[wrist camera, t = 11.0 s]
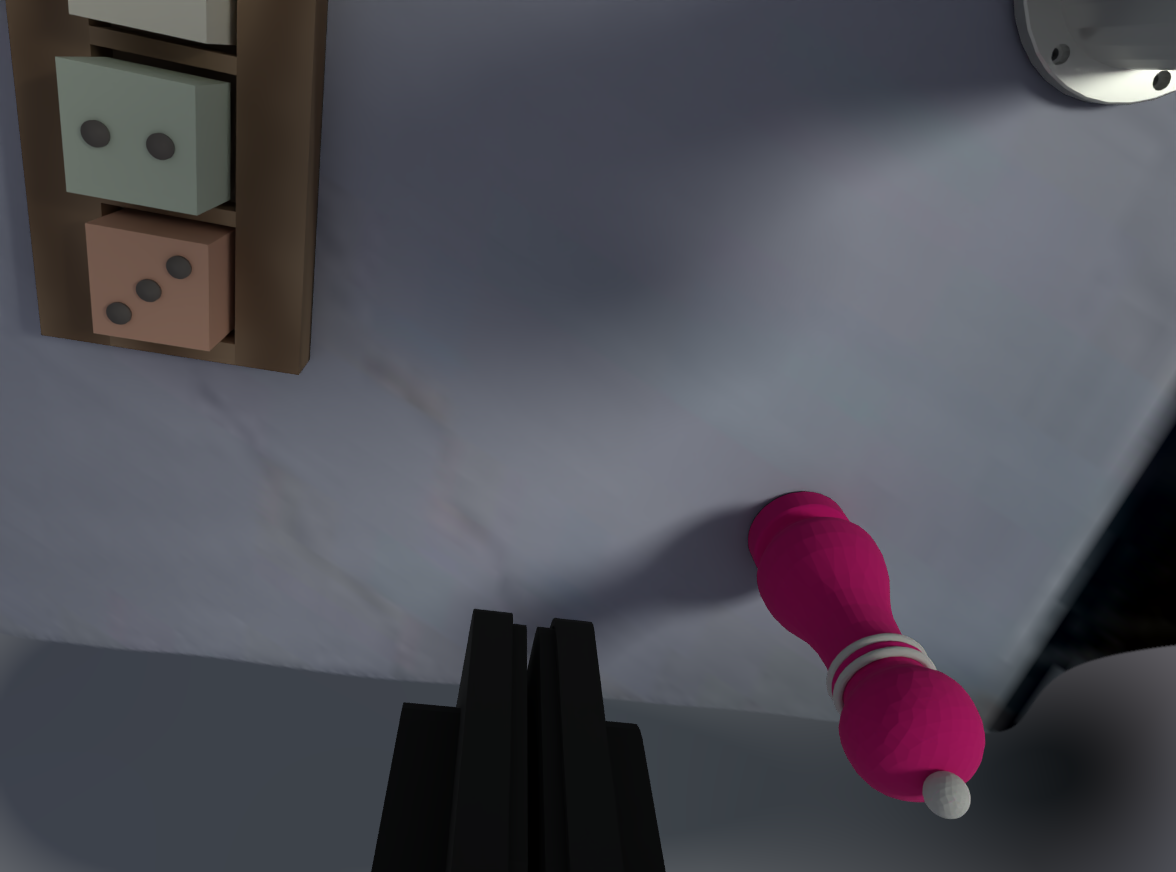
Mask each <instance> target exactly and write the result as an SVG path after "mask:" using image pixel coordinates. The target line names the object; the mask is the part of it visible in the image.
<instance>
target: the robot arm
mask: <svg viewBox="0 0 1176 872" xmlns="http://www.w3.org/2000/svg"><path fill="white" fill-rule="evenodd" d="M1014 13H1015V20H1016V24H1017V28H1018V32H1019V36H1020V40H1021V43H1022V45H1023V47H1024V49H1025V51H1026V53H1027V55H1028V57H1029V59H1030V61H1031V63H1032V65H1033V66H1034V67H1035V68H1036V70H1037V71H1038V72H1039V73H1040V74H1041V76H1042V77H1043V78H1044V79H1045V80H1046V81H1047V82H1048V83H1049V84H1051V85H1052V86H1054V87H1055V88H1056V89H1058V90H1059V91H1061V92H1062V93H1063V94H1066V95H1068V96H1071V97H1074V98H1076V99H1079V100H1081V101H1084V102H1092V103H1099V104H1118V105H1130V104H1135V103H1140V102H1145V101H1150V100H1154V99H1157V98H1160V97H1162V96H1165V95H1167V94H1170V93H1172V92H1175V91H1176V0H1014ZM1052 52H1053V56H1052ZM1051 56H1052V58H1051ZM371 872H665V865H664V860H663V854H662V849H661V843H660V837H659V831H658V826H657V820H656V814H655V808H654V803H653V797H652V791H651V786H650V779H649V774H648V769H647V763H646V757H645V751H644V746H643V739H642V736H641V732H640V729H639V727H638V726H637V724H632V723H621V722H610V721H605V714H604V705H603V697H602V689H601V681H600V673H599V665H598V657H597V649H596V640H595V632H594V626H593V624H592V622H586V621H577V620H568V619H559V618H554V619H553V620H552V623H551V626H550V628H545V627H537V630H536V633H535V637H534V642H533V646H532V651H531V655H530V660H529V664H528V669H527V627H526V625H518V624H513V614H512V613H506V612H497V611H489V610H480V609H474V610H473V615H472V620H471V626H470V631H469V637H468V643H467V648H466V654H465V660H464V666H463V671H462V677H461V683H460V688H459V694H458V700H457V705H456V707H448V706H436V705H426V704H416V703H403V707H402V711H401V717H400V722H399V727H398V732H397V738H396V743H395V748H394V754H393V759H392V764H391V770H390V775H389V781H388V786H387V791H386V796H385V802H384V807H383V812H382V818H381V823H380V828H379V834H378V839H377V844H376V850H375V855H374V861H373V865H372V871H371Z"/></svg>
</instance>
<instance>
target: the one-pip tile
mask: <svg viewBox="0 0 1176 872" xmlns="http://www.w3.org/2000/svg"><path fill="white" fill-rule="evenodd" d="M68 7H69V14H72V15H77V16H81V17H86V18H90V19H95V20H100V21H104V22H109V23H113V24H118V25H123V26H127V27H132V28H137V29H141V30H146V31H150V32H155V33H160V34H164V35H169V36H173V37H178V38H183V39H187V40H192V41H196V42H201V43H206V44H222V45H237V0H68Z"/></svg>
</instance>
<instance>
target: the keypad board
mask: <svg viewBox="0 0 1176 872" xmlns="http://www.w3.org/2000/svg"><path fill="white" fill-rule="evenodd" d="M6 10H7V19H8V28H9V38H10V47H11V56H12V65H13V75H14V84H15V93H16V103H17V112H18V121H19V131H20V140H21V149H22V158H23V168H24V177H25V186H26V196H27V205H28V214H29V224H30V233H31V242H32V251H33V261H34V270H35V279H36V289H37V298H38V307H39V317H40V326H41V335H45V336H52V337H58V338H65V339H71V340H77V341H84V342H90V343H97V344H103V345H110V346H116V347H122V348H129V349H135V350H142V351H148V352H155V353H161V354H167V355H174V356H180V357H187V358H193V359H200V360H206V361H212V362H219V363H225V364H232V365H238V366H245V367H251V368H257V369H264V370H270V371H277V372H283V373H290V374H296V375H299V374H300V372H301V371H302V370H303V368H304V367H305V365H306V364H307V363H308V361H309V360H310V343H311V324H312V304H313V285H314V265H315V246H316V226H317V207H318V187H319V168H320V148H321V129H322V109H323V90H324V70H325V50H326V31H327V11H328V0H237V45H222V44H206V43H201V42H196V41H192V40H187V39H183V38H178V37H173V36H169V35H164V34H160V33H155V32H150V31H146V30H141V29H137V28H132V27H127V26H123V25H118V24H113V23H109V22H104V21H100V20H95V19H90V18H86V17H81V16H77V15H72V14H69V7H68V0H6ZM55 57H110V58H115V59H119V60H124V61H129V62H134V63H138V64H143V65H148V66H153V67H157V68H162V69H167V70H172V71H176V72H181V73H186V74H191V75H195V76H200V77H205V78H210V79H214V80H219V81H224V82H229V83H231V151H230V200H229V201H227V202H225V203H223V204H220V205H218V206H216V207H214V208H212V209H210V210H208V211H206V212H204V213H202V214H200V215H197V216H196V215H191V214H185V213H180V212H174V211H169V210H163V209H158V208H153V207H147V206H142V205H136V204H131V203H125V202H120V201H114V200H109V199H103V198H98V197H93V196H87V195H82V194H76V193H71V192H67V191H66V179H65V168H64V156H63V144H62V133H61V121H60V109H59V97H58V86H57V74H56V62H55ZM124 208H132V209H138V210H143V211H149V212H154V213H160V214H165V215H171V216H176V217H182V218H187V219H192V220H198V221H203V222H209V223H214V224H220V225H225V226H231V227H236V241H235V328H234V329H233V330H232V331H231V332H230V333H229V334H227V335H226V336H225V337H224V338H223V339H222V340H221V341H220V342H219V343H218V344H217V345H216V346H214V347H213V348H212V349H211V350H210V351H204V350H197V349H191V348H185V347H178V346H172V345H166V344H159V343H153V342H146V341H140V340H134V339H127V338H121V337H115V336H108V335H102V334H96V333H93V321H92V308H91V295H90V282H89V269H88V256H87V243H86V230H85V223H87V222H89V221H92V220H95V219H97V218H100V217H103V216H105V215H108V214H111V213H113V212H116V211H119V210H121V209H124Z"/></svg>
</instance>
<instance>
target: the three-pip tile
mask: <svg viewBox="0 0 1176 872" xmlns="http://www.w3.org/2000/svg"><path fill="white" fill-rule="evenodd" d="M85 230H86V243H87V256H88V269H89V282H90V295H91V308H92V321H93V333H96V334H102V335H108V336H115V337H121V338H127V339H134V340H140V341H146V342H153V343H159V344H166V345H172V346H178V347H185V348H191V349H197V350H204V351H210V350H211V349H212V348H213V347H214V346H216V345H217V344H218V343H219V342H220V341H221V340H222V339H223V338H224V337H225V336H226V335H227V334H229V333H230V332H231V331H232V330H233V329H234V328H235V241H236V227H231V226H225V225H220V224H214V223H209V222H203V221H198V220H192V219H187V218H182V217H176V216H171V215H165V214H160V213H154V212H149V211H143V210H138V209H132V208H124V209H121V210H119V211H116V212H113V213H111V214H108V215H105V216H103V217H100V218H97V219H95V220H92V221H89V222H87V223H85Z"/></svg>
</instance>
